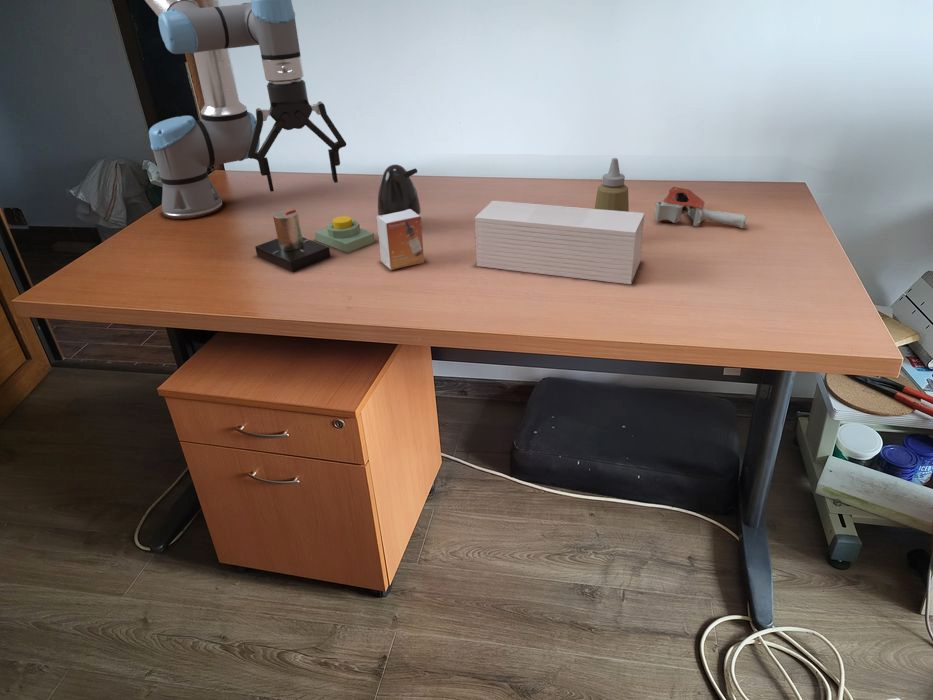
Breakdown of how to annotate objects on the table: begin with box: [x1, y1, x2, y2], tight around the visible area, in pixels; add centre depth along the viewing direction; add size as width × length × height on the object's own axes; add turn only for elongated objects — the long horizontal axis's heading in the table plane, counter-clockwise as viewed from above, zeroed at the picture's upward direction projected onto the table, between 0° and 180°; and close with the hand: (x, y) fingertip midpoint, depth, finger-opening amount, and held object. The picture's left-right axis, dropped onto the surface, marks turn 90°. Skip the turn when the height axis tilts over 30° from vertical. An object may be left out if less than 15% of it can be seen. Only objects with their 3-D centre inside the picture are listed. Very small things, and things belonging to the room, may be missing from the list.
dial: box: [272, 208, 303, 251], centre depth 146 cm, size 5×5×8 cm
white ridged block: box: [474, 200, 645, 285], centre depth 137 cm, size 32×11×11 cm, turn 69°
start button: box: [332, 215, 353, 229], centre depth 154 cm, size 4×4×2 cm
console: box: [254, 236, 331, 273], centre depth 149 cm, size 14×10×3 cm
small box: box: [376, 209, 425, 271], centre depth 141 cm, size 8×6×10 cm
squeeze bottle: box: [594, 157, 630, 212], centre depth 145 cm, size 8×8×18 cm
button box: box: [314, 219, 376, 254], centre depth 155 cm, size 12×8×4 cm, turn 47°
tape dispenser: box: [654, 186, 747, 229], centre depth 156 cm, size 18×5×20 cm
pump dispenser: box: [377, 164, 422, 216], centre depth 158 cm, size 10×10×15 cm
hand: (303, 185), depth 144 cm, fingers open, 13 cm apart
